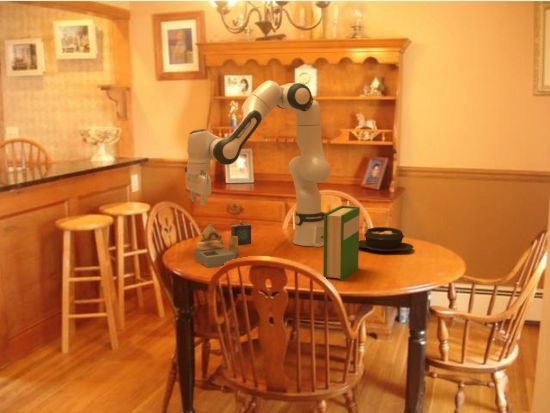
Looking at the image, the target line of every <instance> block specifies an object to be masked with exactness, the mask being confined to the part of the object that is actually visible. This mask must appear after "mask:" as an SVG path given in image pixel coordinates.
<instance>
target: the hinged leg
mask: <svg viewBox="0 0 550 413" xmlns="http://www.w3.org/2000/svg"><path fill="white" fill-rule="evenodd" d="M223 244H224V241H223V239H221V240H212V241H204V242H200V241H198V242H197V241H196V242H195V249H196V250H198V251H202V250H209V249H217V248H223V247H224V245H223Z"/></svg>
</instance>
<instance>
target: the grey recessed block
mask: <svg viewBox="0 0 550 413" xmlns="http://www.w3.org/2000/svg"><path fill="white" fill-rule="evenodd" d="M193 252H194V260H195V261H196V262H198V263H200V264H201V265H203V266H204V267H206V268H207V269H208V268H216V267H221V265H222V266H224V265H223V264H224V263H226V262H227V261H230V260H232V259H236V254H235V253H233V252H232V251H230V250H229V248H227V247H224V246H223V248H217V249H209V250H202V251H198V250H196V248H195V249H194V251H193Z"/></svg>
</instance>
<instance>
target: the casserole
mask: <svg viewBox="0 0 550 413" xmlns="http://www.w3.org/2000/svg"><path fill="white" fill-rule="evenodd" d="M363 236H364V237H365V239H359V248H362V249H367V250H369V251H372V252H376V253H386V254H387V253H388V254H389V253H394V252H401V251H402V252H407V251H410V250H412V249H413V248H414V246H413V245H412V244H411V243H407V242H403V239H404V238H405V235H404V234H403V231H402V230H401V229H398V228H394V227H387V226H385V227H381V226H378V227H376V226H375V227H370V228H367V229H366V232H365V233H364V234H363Z"/></svg>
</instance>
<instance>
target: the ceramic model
mask: <svg viewBox="0 0 550 413" xmlns="http://www.w3.org/2000/svg"><path fill="white" fill-rule="evenodd" d="M201 236H202V239H200V241H199V242H204V241H212V240H222V239H223V238H222V237H223V236H222V235H221V234H220V233H219V232H218V231H217V230H216V229H215V228H214V227H213V223H210V224H208V225H207V226H206V227H205V229H204V230H203V231H202V233H201Z"/></svg>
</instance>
